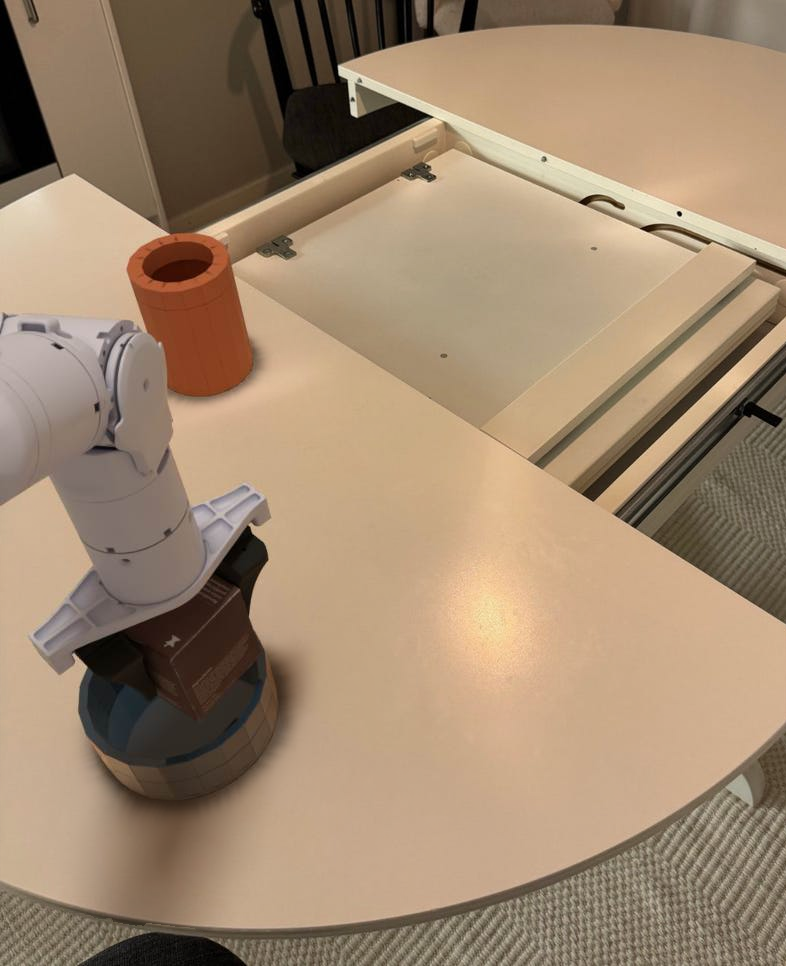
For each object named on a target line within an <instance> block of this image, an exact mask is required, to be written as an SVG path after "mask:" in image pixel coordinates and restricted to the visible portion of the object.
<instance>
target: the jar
mask: <svg viewBox="0 0 786 966" xmlns="http://www.w3.org/2000/svg"><path fill="white" fill-rule="evenodd" d="M233 269H234V268H233V265H232V261H231V257H230V253H229V251H228V250H227V247H226V246H225V244H224V243H223V242H222V241H219V240H218V239H216V238H215V237H214V236H211V235H206V234H201V233H197V232H182V233H180V232H179V233H172V234H167V235H164V236H160V237H156V238H155V239H152V240H150V241H149V242H147V243H145V244H143V245H141V246H140V247H139V248H138V249H137V250H136V251H135V252H134V253H133V254H131V256H130V257H129V260H128V262H127V266H126V272H127V276H128V279H129V282H130V285H131V288H132V291H133V294H134V297H135V301H136V304H137V307H138V309H139V312H140V315H141V318H142V321H143V324H144V327H145V330H146V333H148V334H150V335H151V336H152V337H153V338H154V339H155V340H156V342H157V343H159V342H162V345H163V348H164V353H165V358H166V366H167V387H169V388H170V389H171V390H172V391H174V392H176V393H179V394H182V395H185V396H191V397H208V396H215V395H216V394H218V395H219V394H222V393H224V392H226V391H229V390H231V389H233V388H234V387H236V386H238V385H239V384H241V383H242V382H243V381H244V380H245V379H246V378H247V377H248V375H249V373H250V372H251V370H252V368H253V362H254V359H253V350H252V346H251V342H250V337H249V334H248V328H247V326H246V320H245V317H244V312H243V308H242V303H241V299H240V296H239V291H238V286H237V283H236V282H237V281H236V278H235V273H234V270H233Z"/></svg>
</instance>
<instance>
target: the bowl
mask: <svg viewBox="0 0 786 966" xmlns="http://www.w3.org/2000/svg"><path fill="white" fill-rule="evenodd" d="M253 630H254V633H255V635H256V638H257V641H258V644H259V647H260V650H261V654H260V655H259V657H258V658H257V659H256V660H255V661H254V662H253V663H252V665H251V666H250V667H249V668H248V669H247V670H246V671H245V672H244V673H243V674H242V675H241V676H240V678H239V679H238V680H237V681H236V682H235V683H234V684H233V685H232V687H231V688H230V689H229V690H228V691H227V692H226V693H225V694H224V696H223V697H222V698H221V699H220V700H219V701H218V702H217V704H216V705H215V706H214V707H213V708H212V709H211V710H210V711H209V712H208V714H207V715H206V716H205V717H204V718H203V719H202V720H201V721H200V722H197V721H195V720H194V719H192V718H191V717H189V716H188V715H186V714H185V713H183V712H182V711H180V710H178V709H177V708H175V707H174V706H172V705H171V704H169V703H168V702H166V701H164V700H163V699H161V698H160V697H158V696H156V697H155V698H153V699H152V700H151V701H146V700H145V699H144V698H143V697H142V696H141V695H140V694H139V693H138V692H137V691H136V690H135V689H134V688H132V687H130V686H127V685H125V684H122V683H116V682H111V683H108V682H106V681H104V680H102V679H100V678H99V677H97V676H96V675H95V674H94V673H93V672H92V671H91V670H90V669H89V668H88V667H87V666H86V670H85V672H84V674H83V677H82V679H81V681H80V684H79V687H78V688H79V689H78V703H77V704H78V705H77V712H78V716H79V719H80V723H81V725H82V727H83V730H84V734H85V736H86V738H87V739H88V741H89V743H91V745H92V746H93V748H94V749H95V751H96V752H97V755H98V756H99V757H100V759H101V760H102V762H103V763H104V766H106V768H107V769H109V771H110V773H112V774H113V775H114V777H115V778H116V779H117V780H118V782H120V783H121V784H122V785H123V786H125V787H126V788H128V789H129V790H131V791H133V792H135V793H137V794H139V795H141V796H144V797H148V798H151V799H157V800H163V801H179V800H180V801H181V800H189V799H193V798H197V797H201V796H205V795H207V794H210V793H213V792H215V791H217V790H219V789H221V788H223V787H225V786H227V785H228V784H231V782H233V781H235V780H236V779H237V778H239V777H240V776H241V775H243V774H244V773H245V772H246V771H247V770H249V768H250V767H251V766H252V765H253V764H254V763H256V761H257V760H258V759H259V757H260V756H261V754H262V753H263V752H264V750H265V748H266V747H267V745H268V744H269V742H270V740H271V737H272V735H273V733H274V730H275V727H276V724H277V720H278V719H277V718H278V714H279V713H278V712H279V699H278V691H277V685H276V681H275V678H274V675H273V671H272V669H271V665H270V662H269V659H268V656H267V653H266V650H265V648H264V646H263V643H262V642H261V639H260V638H259V636H258V634H257V632H256V631H255V629H254V628H253Z"/></svg>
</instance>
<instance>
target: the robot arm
mask: <svg viewBox="0 0 786 966" xmlns="http://www.w3.org/2000/svg"><path fill="white" fill-rule="evenodd" d="M173 422H174V418H173V415H172V412H171V409H170V406H169V402H168V385H167V366H166V358H165V353H164V348H163V345H162V342H159V343H157V342H156V340H155V339H154V338H153V337H152V336H151V335H150V334H148V333H147V332H143V330H142V329H141V327H140V326H139V325H138V324H135V322H134V321H132V320H130V319H119V318H117V319H116V318H103V317H89V316H72V315H62V314H61V315H59V314H44V313H32V312H31V313H30V312H25V313H21V314H16V313H8V314H7V313H6V312H3V311H0V507H1V506H3V505H5V504H7V503H8V502H9V501H11V500H13V499H14V498H16V497H17V496H19V495H21V494H22V493H24V492H25V491H27V490H28V489H30V488H32V487H33V486H34V485H36V484H38V483H40V482H41V481H43V480H44V479H46V478H47V477H49V480H50V482H51V484H52V485H53V487H54V489H55V492H56V493H57V495H58V497H59V499H60V501H61V503H62V505H63V507H64V509H65V511H66V513H67V515H68V517H69V519H70V521H71V523H72V526H73V527H74V529H75V531H76V533H77V535H78V538H79V539H80V541H81V543H82V545H83V547H84V549H85V551H86V553H87V555H88V558H89V559H90V561H91V563H92V566H91V567H90V569H88V571H87V572H86V573H85V574H84V575H83V577H82V578H81V579H80V580H79V581H78V582H77V583H76V585H75V586H74V587H73V588H72V590H71V591H70V592H69V593H68V594H67V596H66V597H65V598H64V600H63V601H62V602H61V603H60V604H59V605H58V607H57V608H56V609H55V610H54V611H53V612H52V614H50V616H49V617H48V618H46V620H45V621H44V622H42V623H41V624H40V625H39V626H38V627H37V628H35V629H34V630H33V631H31V632H30V633H28V634H27V638H28V640H29V641H30V642H31V644H32V645H33V646H34V648H35V650H36V651H37V653H38V655H39V656H40V657H41V658H42V659H43V660H44V661H45V663H47V664H48V665H49V666H50V668H51V669H52V670H53V671H54V672H55V673H56V674H57V675H58V676H60V675H62V674H65V672H67V671H68V670H69V669H71V668H72V667H74V665H75V664H76V659H75V657H74V655H75V656H76V657H77V658H78V659H79V660H80V662H82V663H83V664H84V665H85V666H86V668H87V667H88V668H89V669H90V670H91V671H92V672H93V673H94V674H95V675H96V676H97V677H99V678H100V679H102V680H104V681H106V682H108V683H111V682H116V683H122V684H125V685H127V686H130V687H132V688H134V689H135V690H136V691H137V692H138V693H139V694H140V695H141V696H142V697H143V698H144V699H145V700H146V701H151V700H152V699H153V698H155V697H156V696H157V695H158V693H157V689H156V688H155V686H154V685H153V683H152V682H151V680H150V679H149V677H148V676H147V674H146V671H145V668H144V664H143V655H142V654H141V653H140V652H139V651H138V650H137V649H136V648H135V647H134V646H133V645H132V644H131V643H130V642H129V641H128V640H127V639H126V638H125V636H124V634H123V633H122V632H121V630H123V629H126V628H128V627H131V626H133V625H136V624H138V623H141V622H143V621H146V620H148V619H150V618H153V617H155V616H158V615H160V614H163V613H165V612H168V611H170V610H173V609H175V608H177V607H179V606H181V605H183V604H184V603H186V602H188V601H189V600H190V599H191V598H193V597H194V596H195V595H196V594H197V593H198V592H199V591H200V590H201V589H202V587H203V586H204V585H205V583H206V582H207V581H208V579H209V578H210V576H211V575H212V574H213V573H214V574H216V575H217V576H219V577H221V578H223V579H224V580H226V581H228V582H229V583H231V584H233V585H235V586H236V587H238V588H239V589H240V591H241V596H242V599H243V601H244V603H245V607H246V610H247V612H248V615H249V616H250V612H251V603H252V597H253V593H254V589H255V586H256V583H257V580H258V578H259V576H260V574H261V573H262V570H263V569H264V568H265V566H266V564H267V563H268V562H269V561H270V559H269V552H268V548H267V545H266V544H265V543H264V541H262V539H260V538H259V537H258V536H257V535H255V534H254V533H253V531H252V528H251V525H250V524H252V525H253V526H255V527H262V526H264V525H265V523H267V522H268V521H270V520H271V519H272V515H271V511H270V507H269V504H268V503H269V502H268V500H267V497H266V495H264V494H262V493H261V492H260V491H259V490H257V489H256V488H254V487H253V486H252V485H251V484H249V482H247V481H243V482H242V483H241V484H238V485H237V486H236V487H233V488H232V489H231V490H229V491H227V492H224V493H222V494H219V495H217V496H214V497H212V498H210V499H206V500H204V501H202V502H198V503H195V504H194V505H191V502H190V500H189V497H188V495H187V494H188V493H187V491H186V487H185V486H184V483H183V480H182V479H183V478H182V477H181V474H180V471H179V469H178V466H177V465H178V464H177V463H176V459H175V457H174V454H173V451H172V448H171V445H170V442H171V440H172V437H173V435H174V428H173ZM73 654H74V655H73Z"/></svg>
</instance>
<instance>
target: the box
mask: <svg viewBox="0 0 786 966" xmlns="http://www.w3.org/2000/svg"><path fill="white" fill-rule="evenodd" d="M253 629H254V627H253V624H252V621H251V619H250V614H249V615H248V612H247V610H246V607H245V603H244V601H243V599H242V596H241V591H240V589H239V588H238V587H236V586H235V585H233V584H231V583H229V582H228V581H226V580H224V579H223V578H221V577H219V576H217V575H216V574H214V573H213V574H212V575H211V576H210V578H209V579H208V581H207V582H206V583H205V585H204V586H203V587H202V589H201V590H200V591H199V592H198V593H197V594H196V595H195V596H194V597H193V598H191V599H190V600H189V601H188V602H186V603H184V604H183V605H181V606H179V607H177V608H175V609H173V610H170V611H168V612H165V613H163V614H160V615H158V616H155V617H153V618H150V619H148V620H146V621H143V622H141V623H138V624H136V625H133V626H131V627H128V628H126V629H123V630H121V632H122V633H123V634H124V636H125V638H126V639H127V640H128V641H129V642H130V643H131V644H132V645H133V646H134V647H135V648H136V649H137V650H138V651H139V652H140V653H141V654H142V655H143V664H144V668H145V671H146V674H147V676H148V677H149V679H150V680H151V682H152V683H153V685H154V686H155V688H156V689H157V693H158V695H157V696H158V697H160V698H161V699H163V700H164V701H166V702H168V703H169V704H171V705H172V706H174V707H175V708H177V709H178V710H180V711H182V712H183V713H185V714H186V715H188V716H189V717H191V718H192V719H194V720H195V721H197V722H200V721H201V720H202V719H203V718H204V717H205V716H206V715H207V714H208V712H209V711H210V710H211V709H212V708H213V707H214V706H215V705H216V704H217V702H218V701H219V700H220V699H221V698H222V697H223V696H224V694H225V693H226V692H227V691H228V690H229V689H230V688H231V687H232V685H233V684H234V683H235V682H236V681H237V680H238V679H239V678H240V676H241V675H242V674H243V673H244V672H245V671H246V670H247V669H248V668H249V667H250V666H251V665H252V663H253V662H254V661H255V660H256V659H257V658H258V657H259V655H260V654H261V650H260V647H259V644H258V641H257V638H256V635H255V633H254V631H255V629H254V630H253Z"/></svg>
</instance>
